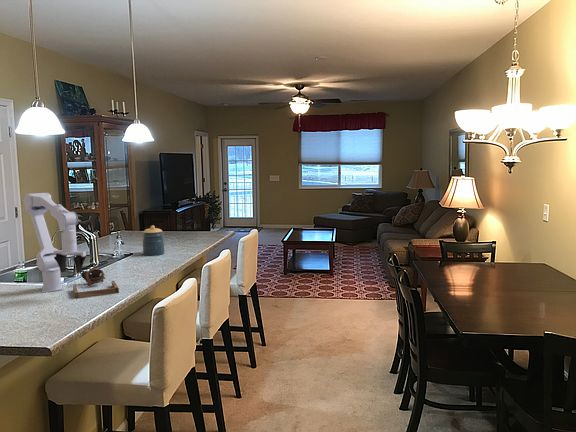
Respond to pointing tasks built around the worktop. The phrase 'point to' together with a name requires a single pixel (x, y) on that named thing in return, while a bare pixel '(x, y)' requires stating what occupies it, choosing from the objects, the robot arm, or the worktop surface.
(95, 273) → the pottery mug
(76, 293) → the corral
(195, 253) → the worktop surface
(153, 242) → the canister
